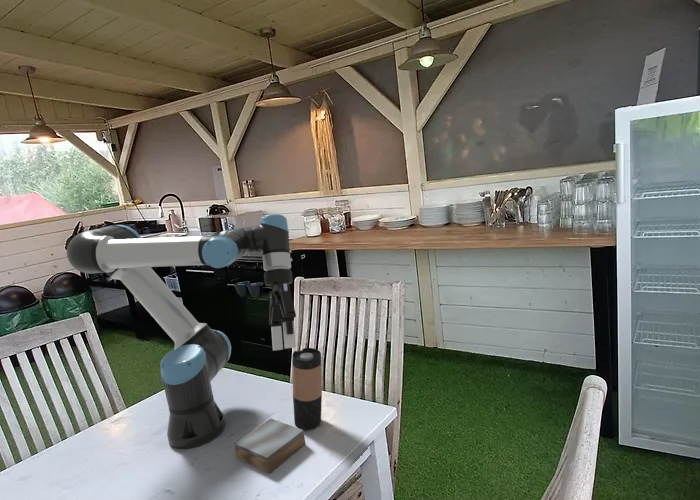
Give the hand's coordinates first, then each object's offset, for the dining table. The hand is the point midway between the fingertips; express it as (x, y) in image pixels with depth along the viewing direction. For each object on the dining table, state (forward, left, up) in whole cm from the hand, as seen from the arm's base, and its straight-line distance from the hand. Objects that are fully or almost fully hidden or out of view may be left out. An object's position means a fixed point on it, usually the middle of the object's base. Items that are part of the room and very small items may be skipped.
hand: (283, 349), depth 118 cm
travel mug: (+3, +1, -21) cm, 21 cm away
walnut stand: (+3, -12, -21) cm, 25 cm away
